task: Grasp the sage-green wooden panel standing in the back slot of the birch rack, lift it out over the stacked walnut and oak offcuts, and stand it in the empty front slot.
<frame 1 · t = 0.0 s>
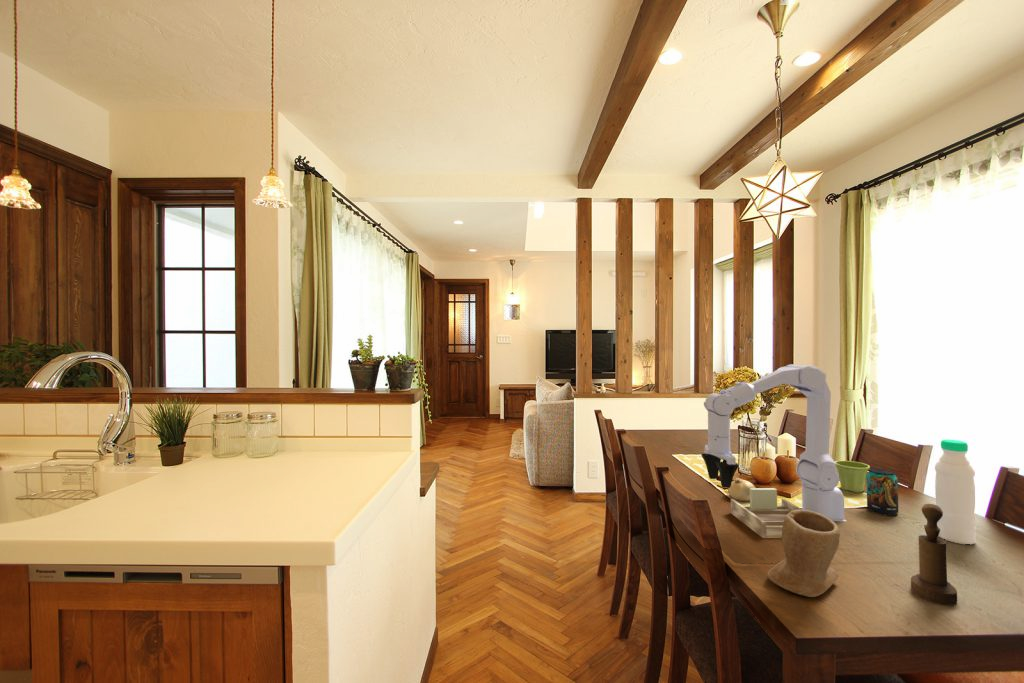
hand: (719, 482, 123), 10 cm above the table, tool pointing down, fingers open, 7 cm apart
offcut upper: (774, 520, 117), point 2 cm above the table, touching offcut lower
rack: (774, 526, 116), on the table
onion: (742, 500, 136), on the table
white bottle: (955, 540, 108), on the table
plant pot: (852, 490, 145), on the table
printed food package: (882, 512, 126), on the table
stone cup: (808, 585, 89), on the table
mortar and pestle: (933, 596, 84), on the table
panel: (763, 517, 121), point 1 cm above the table, touching rack
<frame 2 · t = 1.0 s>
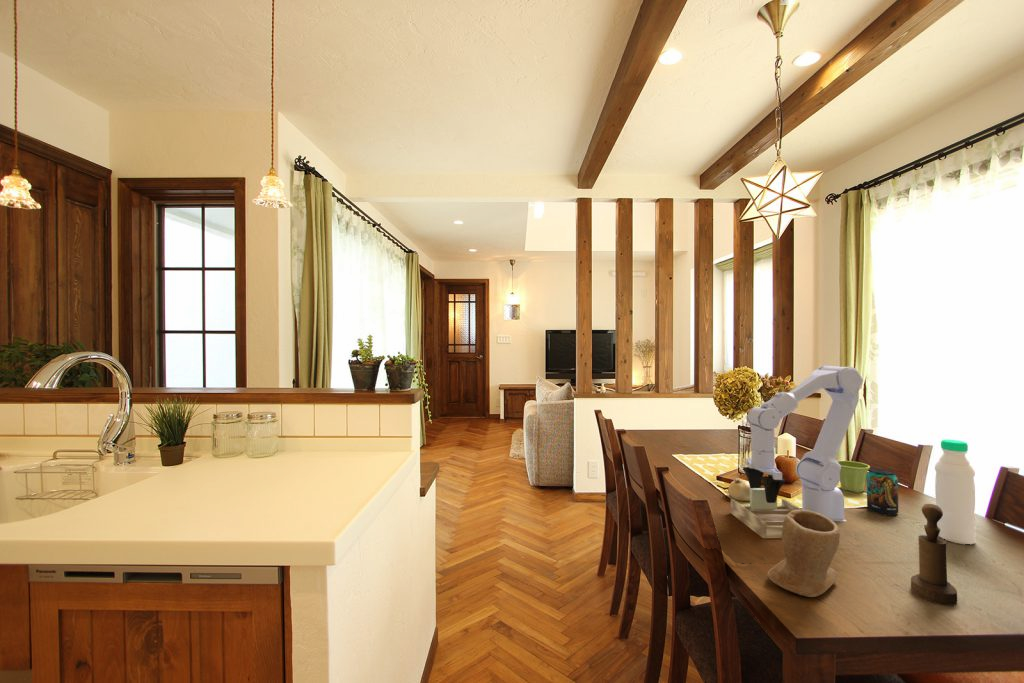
hand: (763, 497, 122), 6 cm above the table, tool pointing down, fingers open, 7 cm apart
nothing on the table moved.
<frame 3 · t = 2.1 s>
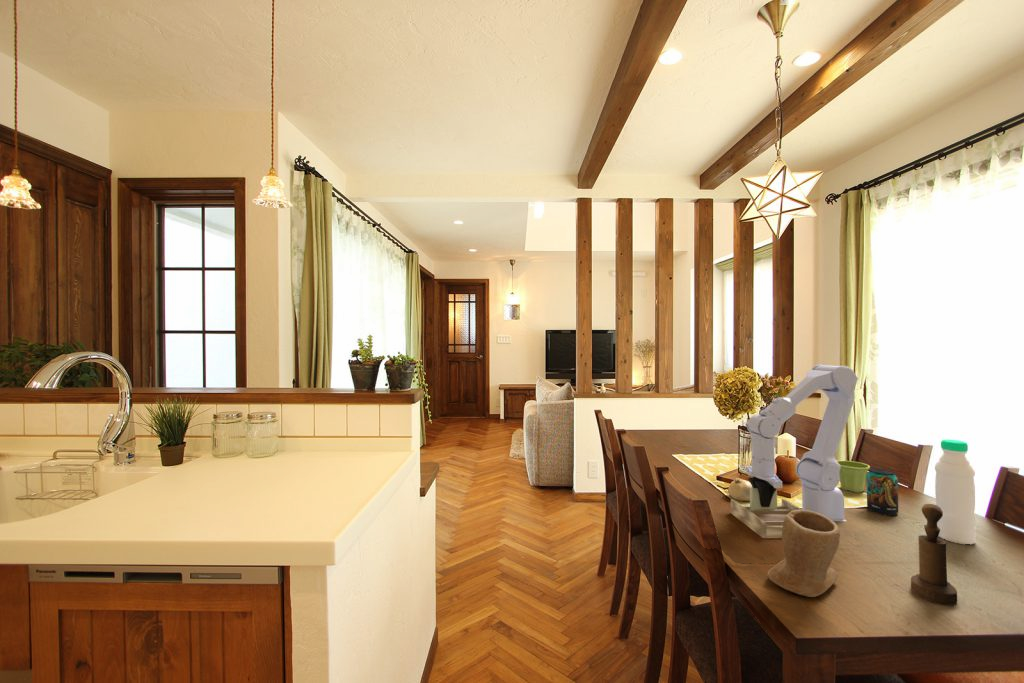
hand: (763, 505, 122), 4 cm above the table, tool pointing down, fingers closed on panel, 1 cm apart
panel: (763, 517, 121), point 1 cm above the table, touching gripper, rack
everything else where it was.
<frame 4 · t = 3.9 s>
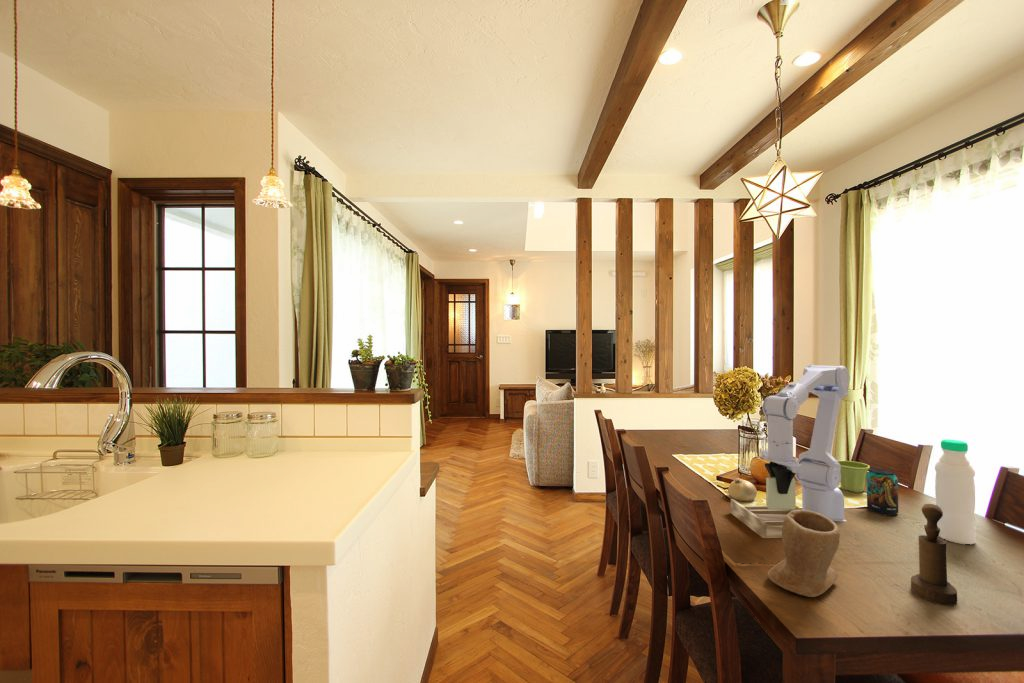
hand: (780, 492, 113), 10 cm above the table, tool pointing down, fingers closed on panel
panel: (780, 508, 113), point 6 cm above the table, touching gripper
everything else where it was.
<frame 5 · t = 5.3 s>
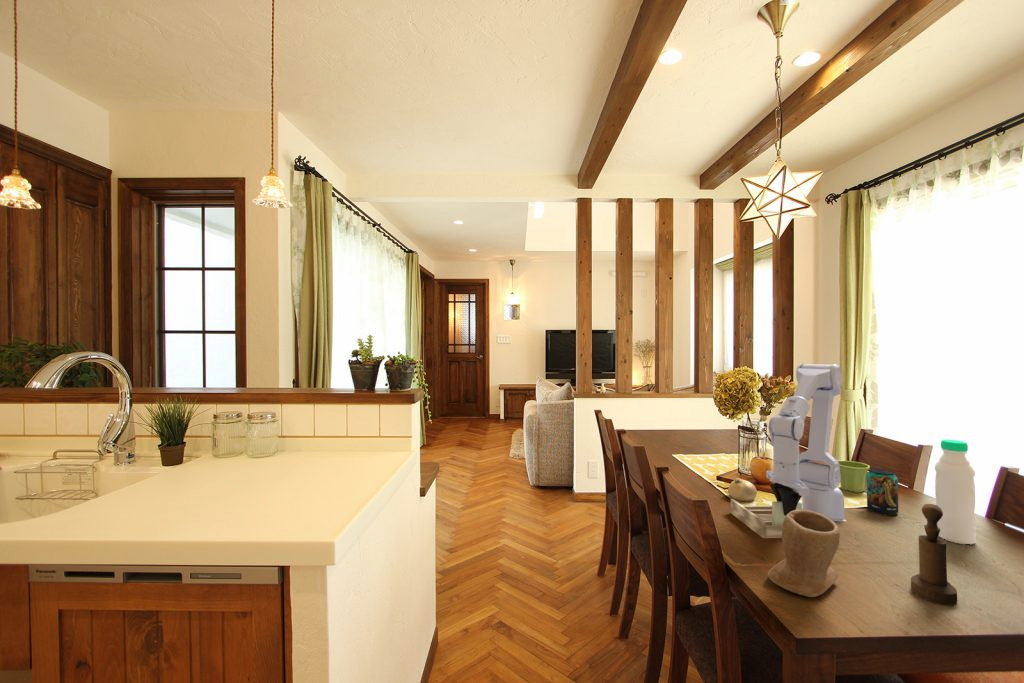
hand: (786, 514, 111), 6 cm above the table, tool pointing down, fingers closed on panel, 1 cm apart
panel: (786, 533, 111), point 1 cm above the table, touching gripper, rack
everything else where it was.
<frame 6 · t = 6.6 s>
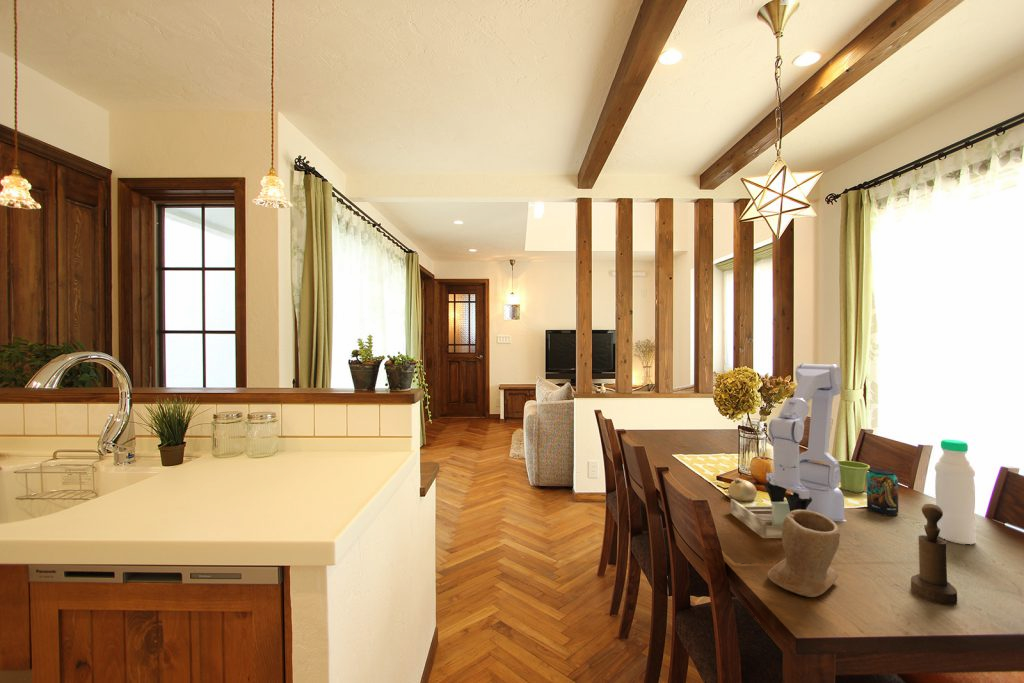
hand: (786, 516, 111), 5 cm above the table, tool pointing down, fingers open, 7 cm apart
panel: (786, 533, 111), point 1 cm above the table, touching rack
everything else where it was.
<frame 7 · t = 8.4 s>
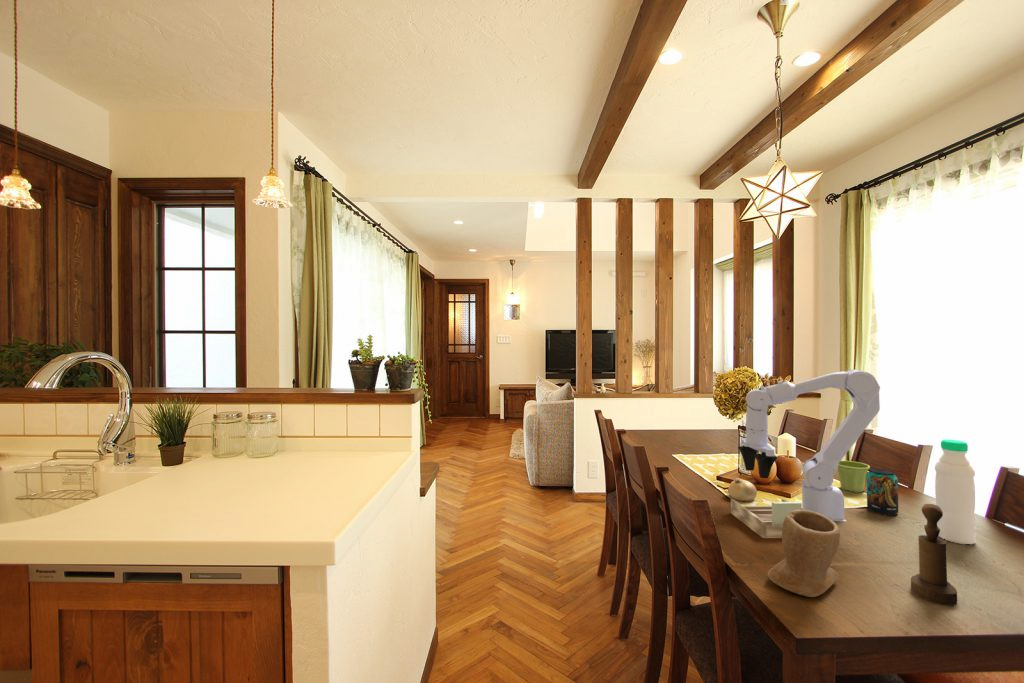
hand: (756, 473, 130), 10 cm above the table, tool pointing down, fingers open, 7 cm apart
nothing on the table moved.
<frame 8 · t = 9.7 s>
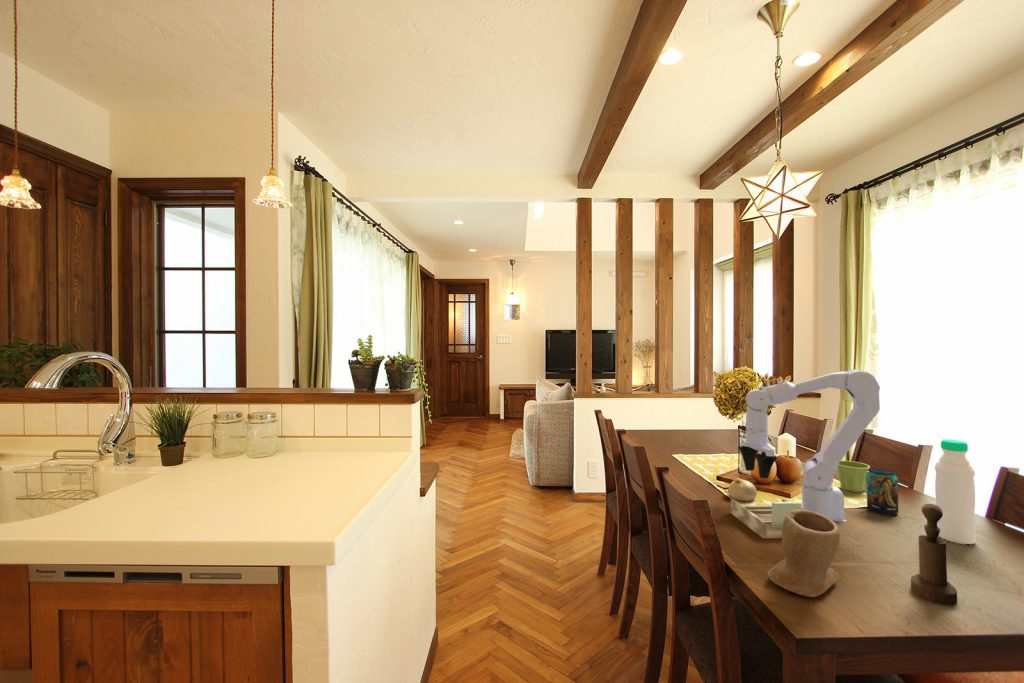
hand: (756, 473, 130), 10 cm above the table, tool pointing down, fingers open, 7 cm apart
nothing on the table moved.
at the end: panel 0.1 cm from the target spot on the rack, point 0.6 cm above the rack's base; panel tilted 0°; offcut upper moved 0.0 cm from its start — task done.
